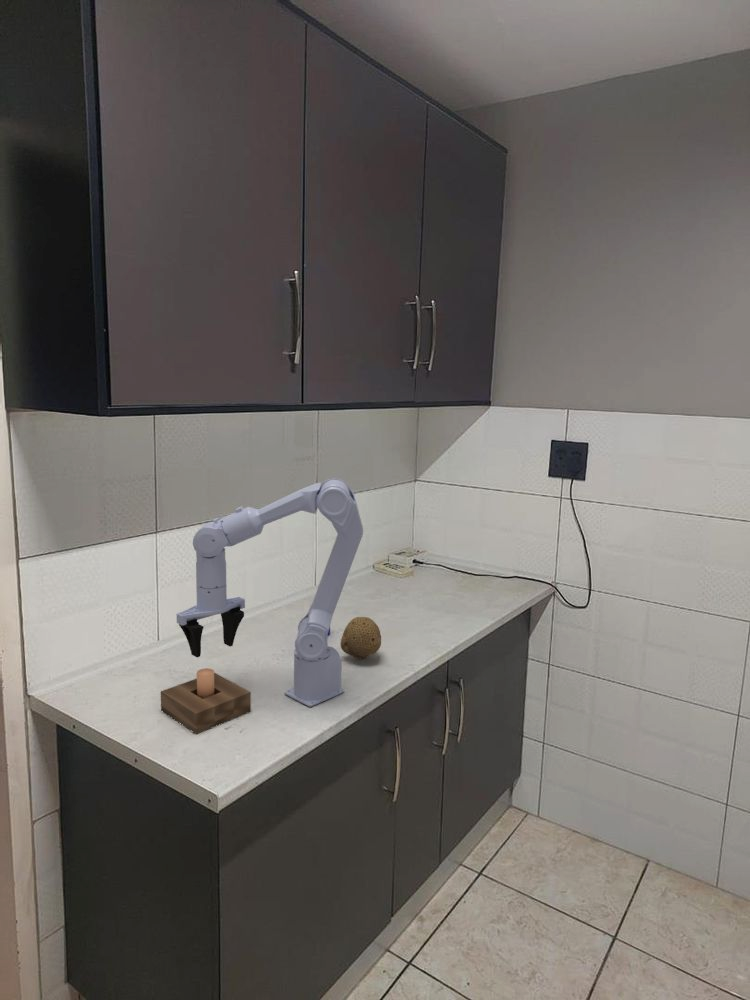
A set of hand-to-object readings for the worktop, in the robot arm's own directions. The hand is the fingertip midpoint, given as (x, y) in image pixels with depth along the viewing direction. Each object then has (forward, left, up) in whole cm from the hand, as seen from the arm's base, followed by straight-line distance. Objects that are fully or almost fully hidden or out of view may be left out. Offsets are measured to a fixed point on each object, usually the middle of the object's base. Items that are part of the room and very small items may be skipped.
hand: (212, 650), depth 136 cm
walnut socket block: (+5, +5, -9) cm, 12 cm away
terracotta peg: (+5, +5, -8) cm, 11 cm away
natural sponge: (-34, +9, -10) cm, 36 cm away
